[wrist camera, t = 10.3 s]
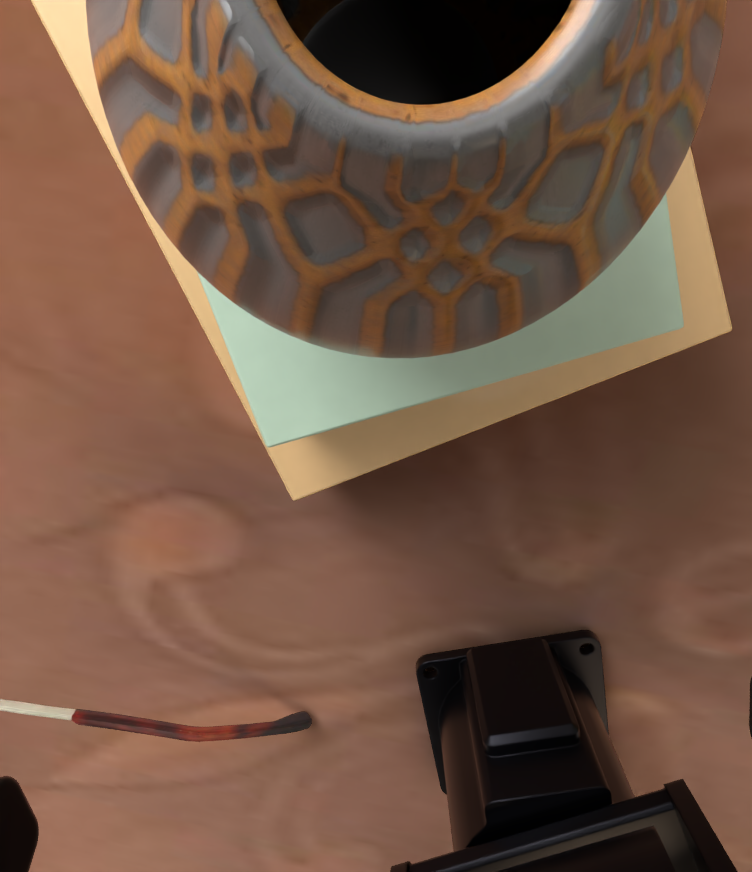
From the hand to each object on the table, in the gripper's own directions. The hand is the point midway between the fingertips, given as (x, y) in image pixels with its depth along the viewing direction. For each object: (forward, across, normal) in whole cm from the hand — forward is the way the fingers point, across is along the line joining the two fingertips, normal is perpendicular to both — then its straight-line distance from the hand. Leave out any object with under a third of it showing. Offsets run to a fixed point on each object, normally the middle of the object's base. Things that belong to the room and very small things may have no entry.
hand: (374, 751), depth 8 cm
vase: (+7, -2, -8) cm, 10 cm away
